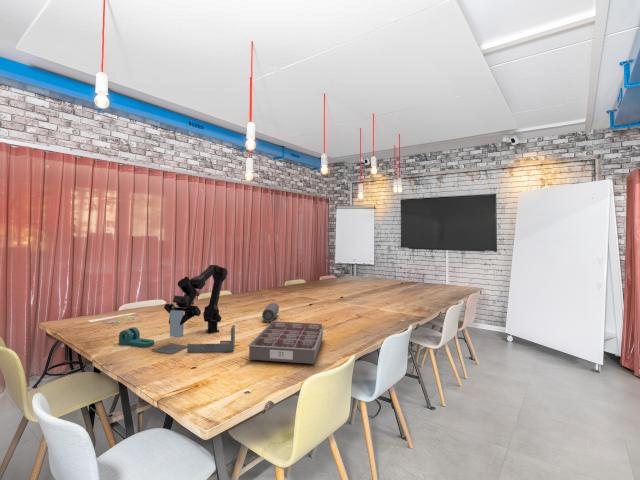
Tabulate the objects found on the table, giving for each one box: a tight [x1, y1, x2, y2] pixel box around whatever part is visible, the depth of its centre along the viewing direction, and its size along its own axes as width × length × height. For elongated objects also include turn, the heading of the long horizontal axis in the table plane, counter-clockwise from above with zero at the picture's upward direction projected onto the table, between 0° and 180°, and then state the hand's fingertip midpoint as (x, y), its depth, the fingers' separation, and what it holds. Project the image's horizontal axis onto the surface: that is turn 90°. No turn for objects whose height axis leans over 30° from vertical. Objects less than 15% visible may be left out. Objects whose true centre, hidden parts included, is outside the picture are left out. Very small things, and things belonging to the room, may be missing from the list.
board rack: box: [186, 324, 236, 354], centre depth 169 cm, size 6×22×12 cm, turn 97°
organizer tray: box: [247, 320, 325, 365], centre depth 173 cm, size 32×40×10 cm
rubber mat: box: [151, 342, 187, 355], centre depth 170 cm, size 12×12×1 cm
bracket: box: [118, 326, 155, 349], centre depth 176 cm, size 18×7×8 cm, turn 75°
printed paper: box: [87, 312, 140, 325], centre depth 223 cm, size 30×30×2 cm
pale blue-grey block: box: [169, 310, 185, 338], centre depth 169 cm, size 2×6×13 cm, turn 77°
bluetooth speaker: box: [261, 302, 280, 322], centre depth 235 cm, size 23×9×10 cm, turn 179°
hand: (174, 324), depth 167 cm, fingers closed on pale blue-grey block, 6 cm apart
